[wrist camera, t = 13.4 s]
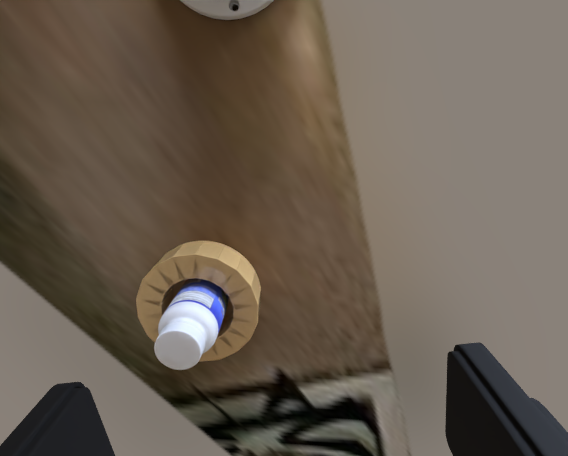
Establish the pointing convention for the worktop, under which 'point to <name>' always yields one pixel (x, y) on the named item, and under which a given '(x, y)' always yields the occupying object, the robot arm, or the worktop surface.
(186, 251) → the tape roll
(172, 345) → the pill bottle
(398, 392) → the worktop surface
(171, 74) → the worktop surface
